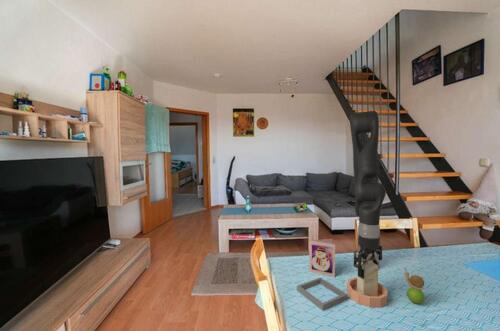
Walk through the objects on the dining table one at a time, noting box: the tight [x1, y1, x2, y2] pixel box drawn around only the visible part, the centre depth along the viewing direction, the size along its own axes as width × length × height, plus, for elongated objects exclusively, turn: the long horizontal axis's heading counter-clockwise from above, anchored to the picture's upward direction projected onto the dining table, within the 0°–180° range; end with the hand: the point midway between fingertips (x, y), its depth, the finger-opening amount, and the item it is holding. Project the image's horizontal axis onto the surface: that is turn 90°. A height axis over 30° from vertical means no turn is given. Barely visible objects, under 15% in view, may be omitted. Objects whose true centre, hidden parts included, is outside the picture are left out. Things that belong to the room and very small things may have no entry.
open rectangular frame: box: [296, 277, 349, 312], centre depth 94 cm, size 13×14×2 cm
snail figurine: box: [404, 267, 425, 305], centre depth 89 cm, size 5×6×12 cm
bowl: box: [346, 276, 388, 308], centre depth 93 cm, size 14×14×4 cm
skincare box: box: [356, 261, 379, 296], centre depth 93 cm, size 6×4×12 cm
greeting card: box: [308, 238, 336, 278], centre depth 111 cm, size 11×7×15 cm, turn 64°
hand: (367, 274), depth 92 cm, fingers open, 8 cm apart
